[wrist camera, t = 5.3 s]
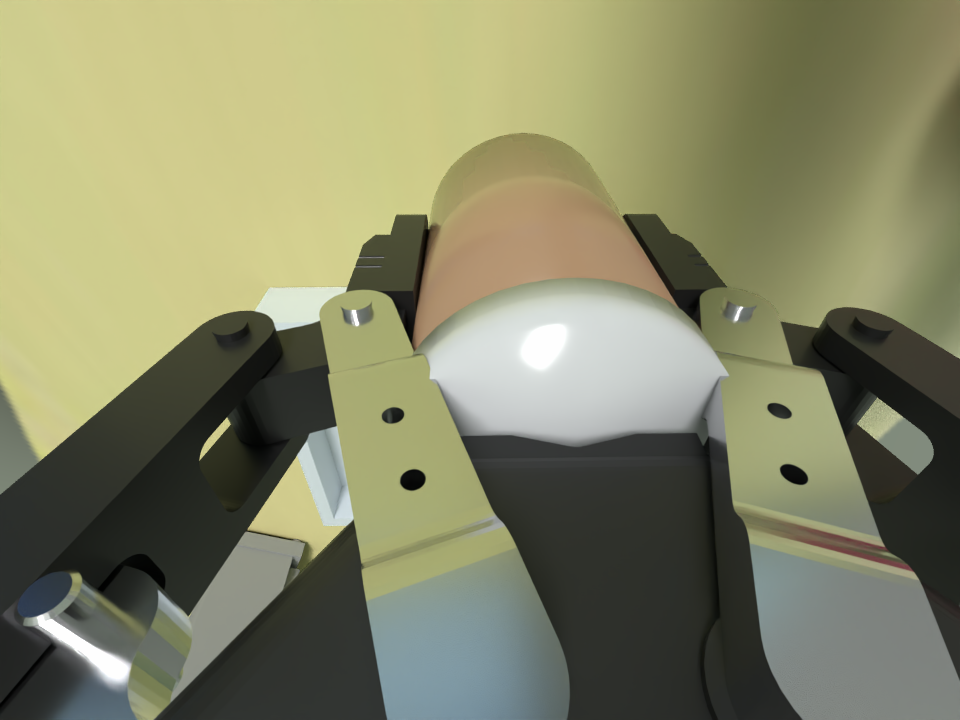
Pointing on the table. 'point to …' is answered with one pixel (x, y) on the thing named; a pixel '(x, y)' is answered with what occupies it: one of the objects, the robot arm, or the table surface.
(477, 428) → the shaker
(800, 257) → the table surface
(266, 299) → the tray
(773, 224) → the table surface
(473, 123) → the table surface
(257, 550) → the cassette tape recorder
